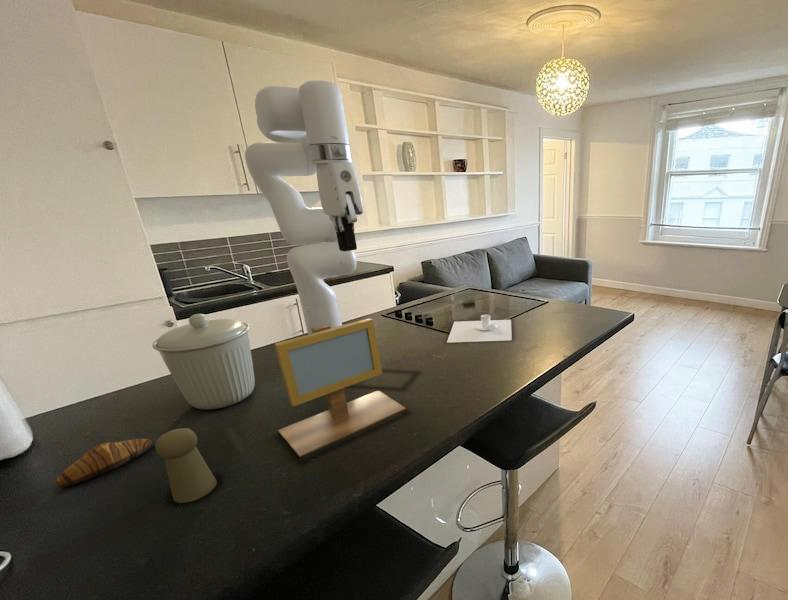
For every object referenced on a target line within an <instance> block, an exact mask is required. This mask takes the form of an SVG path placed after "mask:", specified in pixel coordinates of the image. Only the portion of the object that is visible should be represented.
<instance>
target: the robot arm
mask: <svg viewBox="0 0 788 600" xmlns="http://www.w3.org/2000/svg"><path fill="white" fill-rule="evenodd" d="M254 108H255V114H256V123H257V124H256V125H257V127H258V128H259V131H260V132H261V134H262V135H263V136H264V137H265V138H267V139H268V140H270V141H263V142H261V141H260V142H255V143H252V144H250V145H248V146H247V148H246V149H245V151H244V152H245V153H244V158H245V163H246V167H247V170H248V172H249V174H250V176H251V178H252V181H253V182H254V184H255V185H256V187H257V188H258V189H259V191H260V192H261V194H262V195H263V196H264V197H265V199H266V200H267V202H268V203H269V205H270V208H271V210H272V213H273V216H274V218H275V220H276V223H277V226H278V228H279V230H280V233H281V235H282V237H283V239H284V240H285V241H286V242H287V244H289V245H293V246H295V247H293V248H291V249H290V250H289V251H288V253H287V254H286V263H287V266H288V269H289V271H290V274H291V276H292V279H293V281H294V284H295V287H296V290H297V294H298V297H299V302H300V305H301V306H300V307H301V310H302V315H303V319H304V323H305V327H306V332H307V335H308V334H312V331H311V328H314V327H317V326H321V325H325V324H327V325H329V326H330V327H331V328H335V327H338V326H342V325H343V321H342V316H341V312H340V305H339V302H338V296H337V293H336V291H335V290H334V289H333V287H331V286H330V285H329V284H327V283H326V282H325V279H326V280H327V279H329V278H335V277H341V276H346V275H347V276H348V275H350V274H352V273H354V272H355V271H356V269H357V266H358V265H357V264H358V263H357V257H356V253H355V251H357V249H358V247H357V240H356V235H355V234H356V233H355V223H357V222H358V217H357V216H361V215H362V214H364V204H363V198H362V193H361V189H360V184H359V180H358V176H357V173H356V170H355V166H354V164H353V163H354V162H353V155H352V149H351V144H350V138H349V131H348V126H347V125H348V124H347V118H346V113H345V106H344V100H343V94H342V91H341V89H340V87H339V86H338V85H337V84H335V83H333V82H332V81H327V80H307V81H304V82H302V83H300V84H299V85H298V87H289V86H273V85H270V86H269V85H268V86H265V87H262V88H260V89H259V90H257V92H256V93H255V98H254ZM315 174H316V180H317V187H318V194H319V199H320V204H321V207H308V206H307V205H306V203H305V201H304V198H303V196H302V194H301V192H299V190H297V189H296V188H295V187H294V186H293V185H292V184H291V183H289V182H287V181H286V180H284V179H283V178H282V177H310V176H313V175H315Z"/></svg>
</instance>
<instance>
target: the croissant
mask: <svg viewBox="0 0 788 600" xmlns="http://www.w3.org/2000/svg"><path fill="white" fill-rule="evenodd" d="M152 447H153V442H152V440H151V439H150V438H133V439H126V440H121V441H117V442H105V443H100V444H98V445H96V446H94V447H93V448H90V449H89V450H87V451H85V453H84V454H83V455H82V456H81V457H80V458H79V459H77V460H75V461H74V462H73V463H72V464H71V465H69V466H68V467H67V468H65V469H64V470H63V471H62V472H61V473H60V475H58V477H57V478H56V486H58V487H59V488H61V489H64V488H68V487H71V486H75V485H78V484H82V483H83V482H86V481H89V480H91V479H94V478H96V477H99V476H101V475H103V474H107V473H109V472H111V471H113V470H116V469H118V468H119V467H121V466H123V465H125V464H127V463H128V462H130V461H132V460H134V459H136V458H137V457H140V456H141V455H143V454H144V453H146V452H147V451H149V450H150V449H151V448H152Z"/></svg>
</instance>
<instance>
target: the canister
mask: <svg viewBox="0 0 788 600" xmlns="http://www.w3.org/2000/svg"><path fill="white" fill-rule="evenodd" d="M250 328H251V326H250V324H249V323H247V322H244V321H240V320H237V319H232V318H219V319H218V318H216V319H211V320H210V319H209V317H208V316H207V315H205V314H203V313H195V314H192V315H191V316H190V317H189V318H188V324H185V325H181V326H177V327H175V328H172V329H170V330H167V331H166V332H165V333H163V334H161V335H160V336H159V337H158V338H157V339H156V340H154V341H153V342H152V344H151V347H152V348H153V349H154V350H155V351H158V352H159V354H160V356H161V358H162V360H163V362H164V364H165V365H166V367H167V369H168V371H169V373H170V375H171V377H172V379H173V380H174V382H175V384H176V386H177V387H178V389H179V390H180V392H181V394H182V396H183V397H184V399H185V401H186V402H187V403H188V404H189V405H190V406H191V407H193V408H195V409H197V410H202V411H204V410H206V411H209V410H218V409H222V408H226V407H229V406H232V405H235V404H238V403H239V402H242V401H243V400H245V399H246V398H248V397H249V396H250V395H251V394H252V392H253V391H254V389H255V385H256V383H255V380H256V379H255V371H254V363H253V362H254V361H253V355H252V349H251V344H250V338H249V331H250Z"/></svg>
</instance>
